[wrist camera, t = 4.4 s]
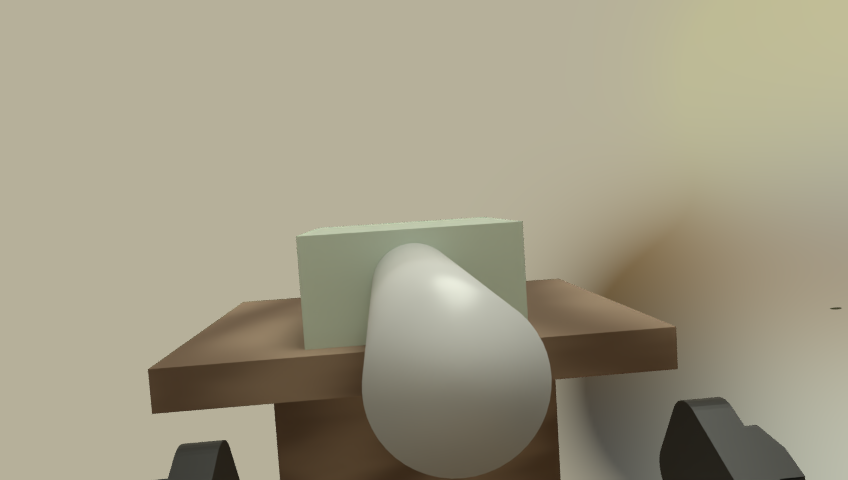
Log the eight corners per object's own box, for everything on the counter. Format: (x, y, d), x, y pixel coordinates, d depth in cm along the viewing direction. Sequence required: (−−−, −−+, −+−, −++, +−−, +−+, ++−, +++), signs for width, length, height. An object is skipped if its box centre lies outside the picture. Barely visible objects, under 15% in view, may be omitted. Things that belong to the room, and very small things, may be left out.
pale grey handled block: (488, 298, 30) (484, 217, 30) (707, 484, 10) (699, 240, 10) (325, 310, 29) (319, 227, 29) (208, 534, 9) (185, 277, 9)
